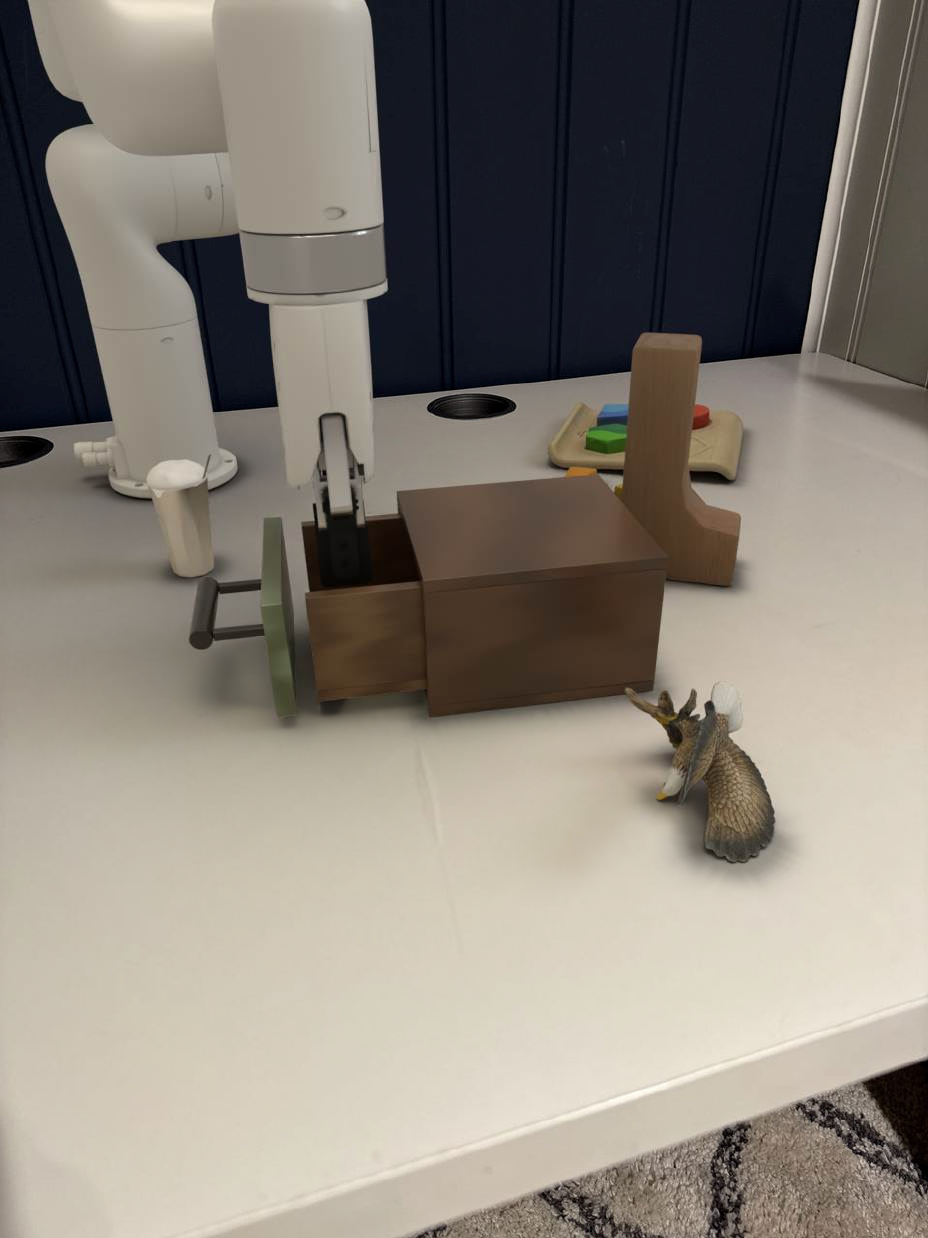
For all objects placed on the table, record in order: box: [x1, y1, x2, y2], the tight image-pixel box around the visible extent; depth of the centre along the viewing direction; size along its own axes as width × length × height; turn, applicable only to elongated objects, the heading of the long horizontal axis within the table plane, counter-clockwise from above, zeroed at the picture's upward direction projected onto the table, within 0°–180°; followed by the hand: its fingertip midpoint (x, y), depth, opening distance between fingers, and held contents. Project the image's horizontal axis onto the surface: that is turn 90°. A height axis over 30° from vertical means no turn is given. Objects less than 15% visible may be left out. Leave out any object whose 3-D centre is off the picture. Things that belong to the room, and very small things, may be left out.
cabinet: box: [396, 473, 668, 718], centre depth 60 cm, size 15×14×10 cm
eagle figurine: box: [624, 681, 776, 863], centre depth 47 cm, size 8×7×9 cm
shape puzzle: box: [547, 401, 744, 500], centre depth 93 cm, size 25×19×3 cm
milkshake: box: [147, 454, 215, 579], centre depth 71 cm, size 4×5×10 cm
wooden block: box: [621, 332, 742, 587], centre depth 68 cm, size 9×4×18 cm, turn 73°
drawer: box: [188, 512, 427, 718], centre depth 58 cm, size 18×12×8 cm
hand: (345, 568), depth 57 cm, fingers closed on glue stick, 2 cm apart
